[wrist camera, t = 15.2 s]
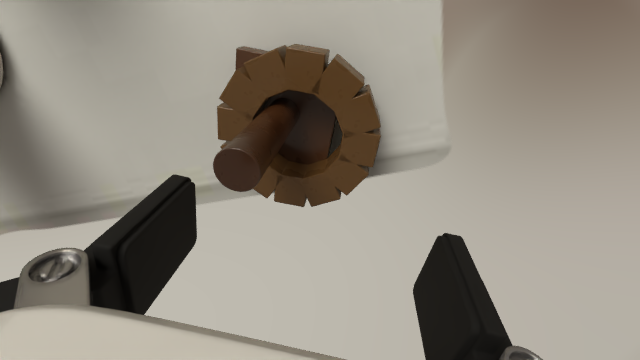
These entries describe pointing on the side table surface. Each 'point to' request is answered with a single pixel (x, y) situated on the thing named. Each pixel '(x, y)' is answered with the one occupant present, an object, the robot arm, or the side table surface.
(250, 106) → the ring
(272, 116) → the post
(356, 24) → the side table surface
